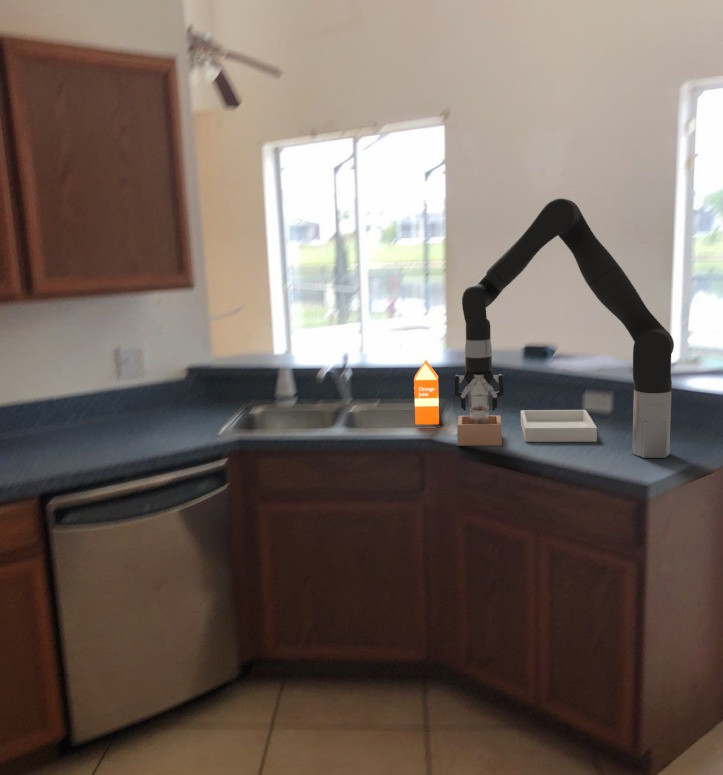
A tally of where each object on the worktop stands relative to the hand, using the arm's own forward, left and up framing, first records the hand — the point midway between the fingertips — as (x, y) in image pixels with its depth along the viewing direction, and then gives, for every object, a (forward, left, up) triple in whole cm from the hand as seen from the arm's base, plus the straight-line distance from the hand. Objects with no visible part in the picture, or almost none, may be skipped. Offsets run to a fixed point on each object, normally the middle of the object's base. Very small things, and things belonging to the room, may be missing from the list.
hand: (479, 410), depth 224 cm
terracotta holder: (0, 0, -9) cm, 9 cm away
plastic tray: (+10, -23, -9) cm, 27 cm away
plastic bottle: (0, 0, -9) cm, 9 cm away
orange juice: (+25, +17, -9) cm, 32 cm away
